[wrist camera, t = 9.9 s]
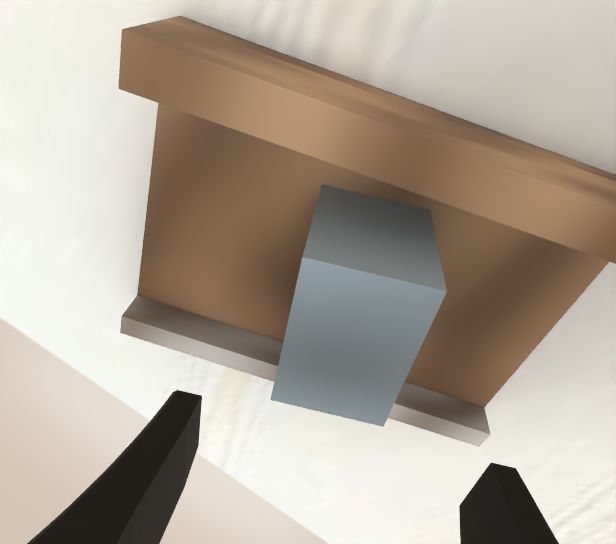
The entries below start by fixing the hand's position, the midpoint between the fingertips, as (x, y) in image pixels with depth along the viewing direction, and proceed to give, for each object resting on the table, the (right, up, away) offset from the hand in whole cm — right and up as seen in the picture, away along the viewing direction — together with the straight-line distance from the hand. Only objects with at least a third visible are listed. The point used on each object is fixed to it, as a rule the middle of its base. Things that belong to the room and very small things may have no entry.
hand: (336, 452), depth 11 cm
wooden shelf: (+1, +5, +8) cm, 9 cm away
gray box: (+1, +5, +7) cm, 8 cm away
